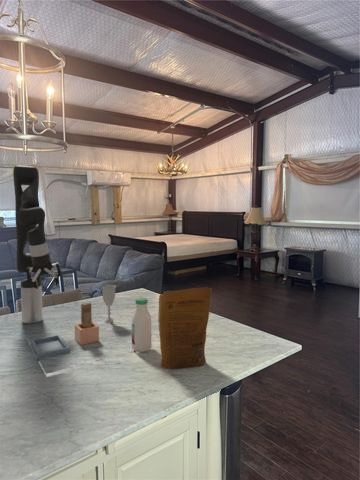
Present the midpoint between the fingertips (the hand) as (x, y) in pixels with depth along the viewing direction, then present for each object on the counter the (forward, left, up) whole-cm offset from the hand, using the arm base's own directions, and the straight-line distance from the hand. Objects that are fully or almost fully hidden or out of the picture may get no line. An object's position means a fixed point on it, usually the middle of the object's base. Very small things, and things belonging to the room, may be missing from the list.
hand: (47, 286), depth 148 cm
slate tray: (+24, -5, -20) cm, 32 cm away
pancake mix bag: (+63, +32, -20) cm, 74 cm away
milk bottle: (+43, +26, -20) cm, 54 cm away
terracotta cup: (+25, +10, -20) cm, 33 cm away
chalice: (+8, +26, -20) cm, 34 cm away
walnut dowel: (+25, +10, -19) cm, 32 cm away
